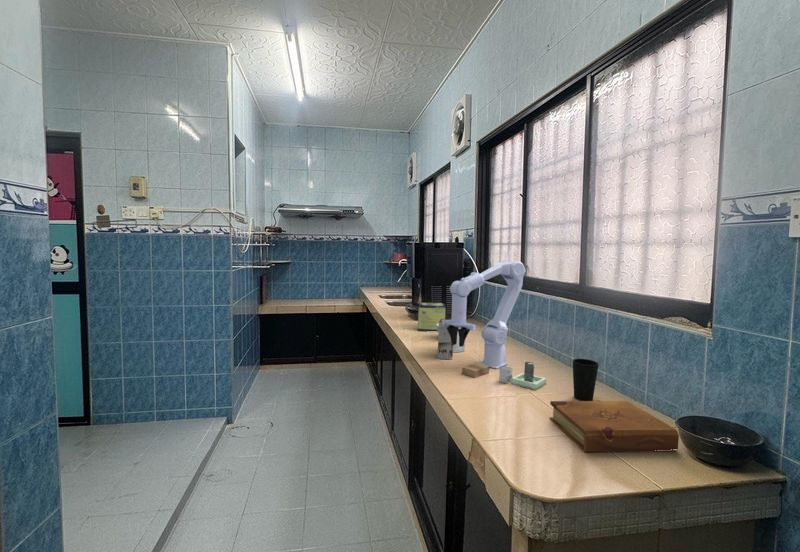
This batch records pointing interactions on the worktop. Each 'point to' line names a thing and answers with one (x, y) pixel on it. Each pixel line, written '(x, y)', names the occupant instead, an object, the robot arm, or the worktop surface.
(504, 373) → the block
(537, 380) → the green tray
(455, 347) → the skincare box
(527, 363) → the steel pin
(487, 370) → the brown rectangular block
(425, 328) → the protein box
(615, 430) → the diary
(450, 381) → the worktop surface
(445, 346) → the coffee box
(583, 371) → the cup
